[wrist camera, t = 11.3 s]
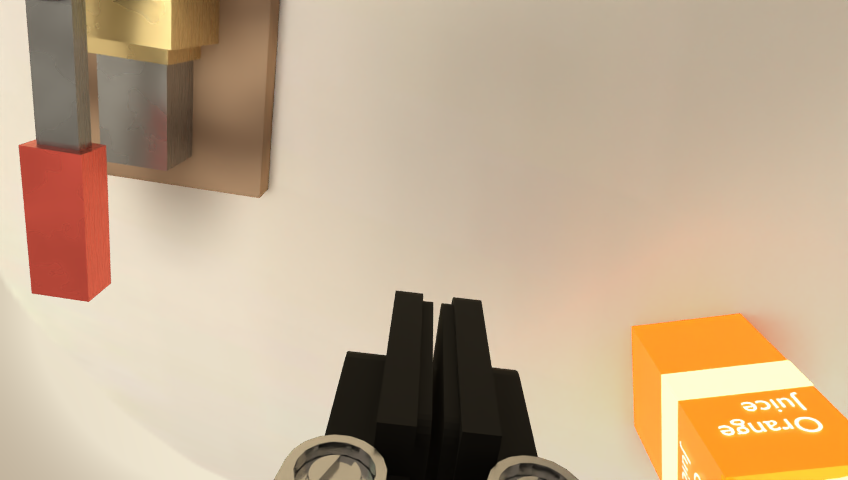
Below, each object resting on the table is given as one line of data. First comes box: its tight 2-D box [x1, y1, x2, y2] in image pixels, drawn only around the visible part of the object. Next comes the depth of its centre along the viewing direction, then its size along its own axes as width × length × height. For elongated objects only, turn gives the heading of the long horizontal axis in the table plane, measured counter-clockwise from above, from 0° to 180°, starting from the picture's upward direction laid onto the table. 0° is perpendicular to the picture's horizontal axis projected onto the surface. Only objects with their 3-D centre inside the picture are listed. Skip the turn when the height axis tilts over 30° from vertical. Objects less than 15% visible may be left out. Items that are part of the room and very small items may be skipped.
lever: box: [19, 0, 111, 302], centre depth 25 cm, size 3×16×3 cm, turn 171°
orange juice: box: [632, 314, 848, 480], centre depth 34 cm, size 8×9×20 cm
